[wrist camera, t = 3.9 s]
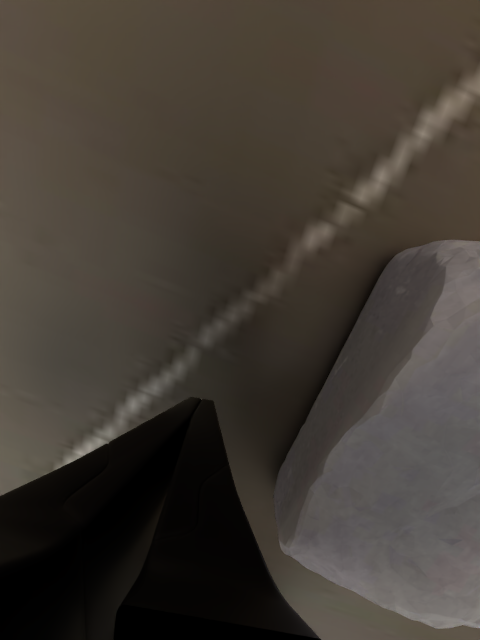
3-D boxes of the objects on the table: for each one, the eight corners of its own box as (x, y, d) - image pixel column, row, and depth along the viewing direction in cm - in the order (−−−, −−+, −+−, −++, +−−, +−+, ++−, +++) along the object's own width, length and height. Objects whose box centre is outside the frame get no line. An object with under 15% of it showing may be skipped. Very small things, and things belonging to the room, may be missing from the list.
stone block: (572, 314, 10) (375, 224, 8) (879, 375, 5) (585, 199, 3) (418, 508, 13) (251, 476, 11) (526, 652, 8) (274, 638, 7)
